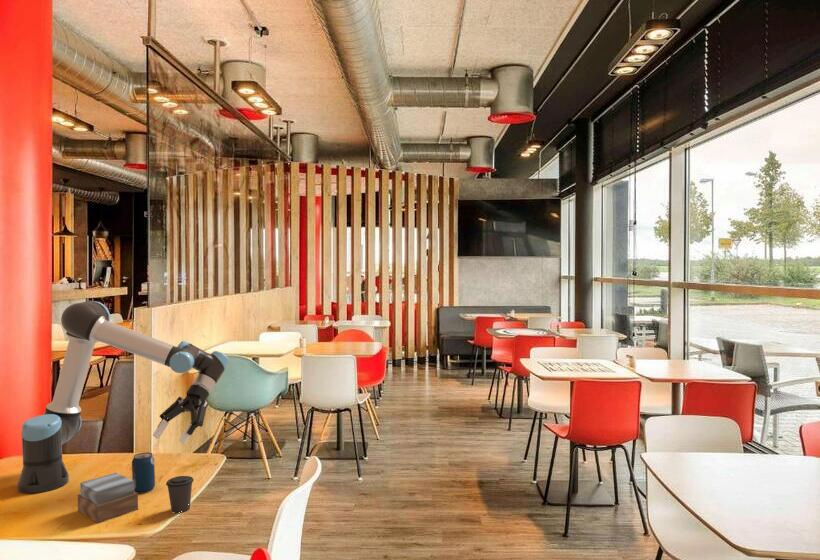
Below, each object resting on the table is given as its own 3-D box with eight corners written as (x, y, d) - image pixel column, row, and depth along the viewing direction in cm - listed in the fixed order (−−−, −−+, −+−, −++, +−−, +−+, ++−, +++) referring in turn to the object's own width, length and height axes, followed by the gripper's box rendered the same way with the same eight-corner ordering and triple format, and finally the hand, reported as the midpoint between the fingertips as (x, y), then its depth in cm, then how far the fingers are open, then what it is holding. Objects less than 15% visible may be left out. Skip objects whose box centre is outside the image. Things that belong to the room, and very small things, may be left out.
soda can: (159, 486, 203) (158, 452, 202) (146, 494, 196) (145, 459, 195) (141, 485, 204) (140, 451, 203) (128, 493, 197) (127, 458, 197)
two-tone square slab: (78, 511, 183) (77, 482, 183) (117, 498, 193) (116, 471, 193) (98, 523, 175) (97, 493, 174) (138, 509, 184) (137, 481, 184)
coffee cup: (185, 516, 179) (184, 483, 178) (161, 514, 180) (160, 482, 180) (199, 505, 187) (198, 474, 186) (176, 503, 188) (175, 472, 188)
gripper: (230, 397, 217) (199, 449, 205) (183, 391, 229) (151, 440, 217) (219, 386, 213) (186, 439, 200) (171, 380, 224) (138, 429, 212)
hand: (168, 439), depth 208 cm, fingers open, 13 cm apart
